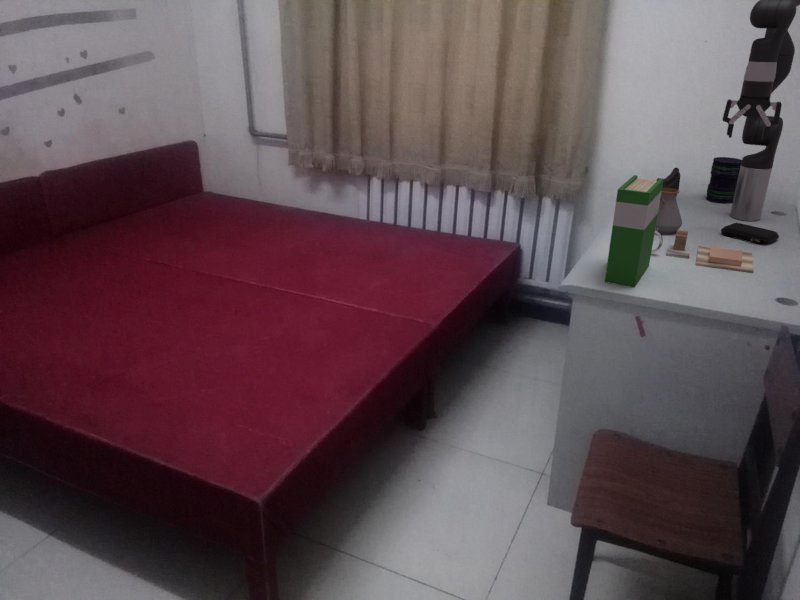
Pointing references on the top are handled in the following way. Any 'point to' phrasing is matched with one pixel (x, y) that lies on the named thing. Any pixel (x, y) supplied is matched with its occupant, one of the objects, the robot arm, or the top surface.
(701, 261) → the board
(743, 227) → the carrying case or bag
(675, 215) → the coffee pot
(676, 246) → the brown rectangular block
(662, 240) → the ring
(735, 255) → the tile
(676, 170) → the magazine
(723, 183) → the storage jar
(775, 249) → the top surface
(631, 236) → the hardback book
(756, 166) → the robot arm
